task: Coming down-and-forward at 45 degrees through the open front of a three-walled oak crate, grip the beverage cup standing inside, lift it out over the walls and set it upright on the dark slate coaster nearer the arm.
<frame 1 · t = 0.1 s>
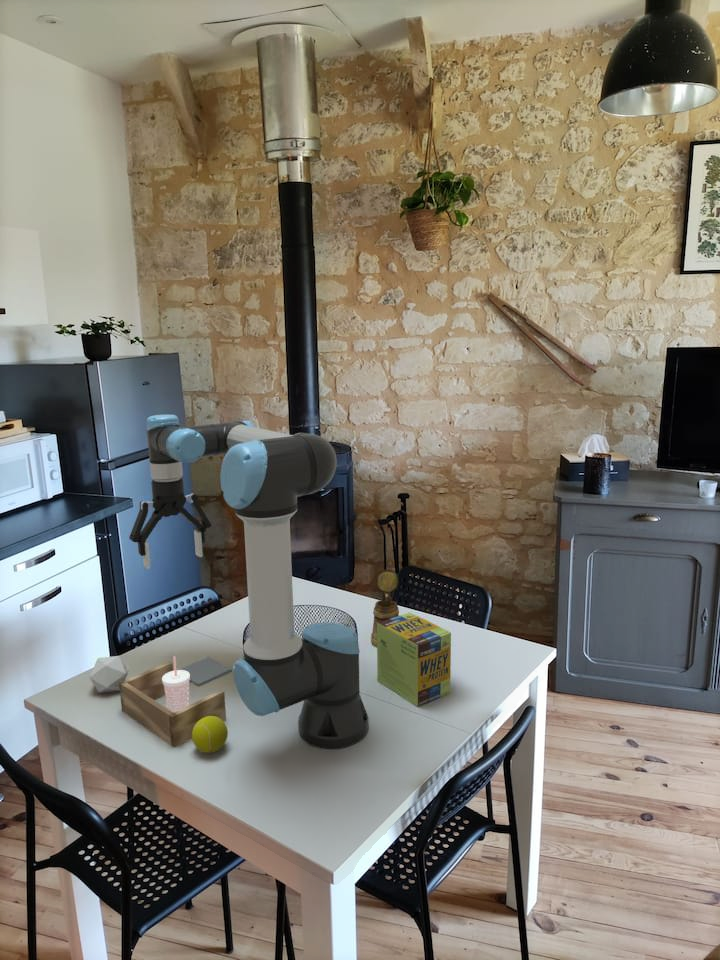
hand: (173, 561, 173), 28 cm above the table, tool pointing down, fingers open, 13 cm apart
tennis ball: (211, 750, 143), on the table
die: (111, 689, 168), on the table
crate: (173, 715, 156), on the table
gold trophy: (387, 638, 192), on the table
protein box: (413, 687, 166), on the table
coaster: (203, 672, 175), on the table
beverage cup: (179, 713, 157), on the table
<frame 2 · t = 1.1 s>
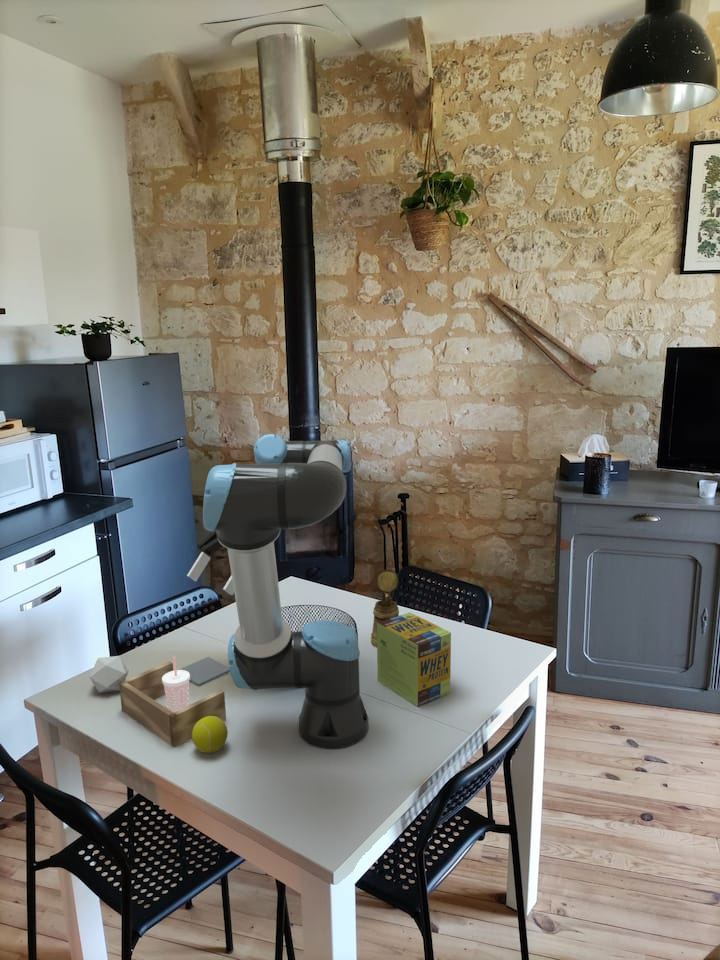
hand: (208, 585, 158), 27 cm above the table, tool tilted 45°, fingers open, 13 cm apart
nothing on the table moved.
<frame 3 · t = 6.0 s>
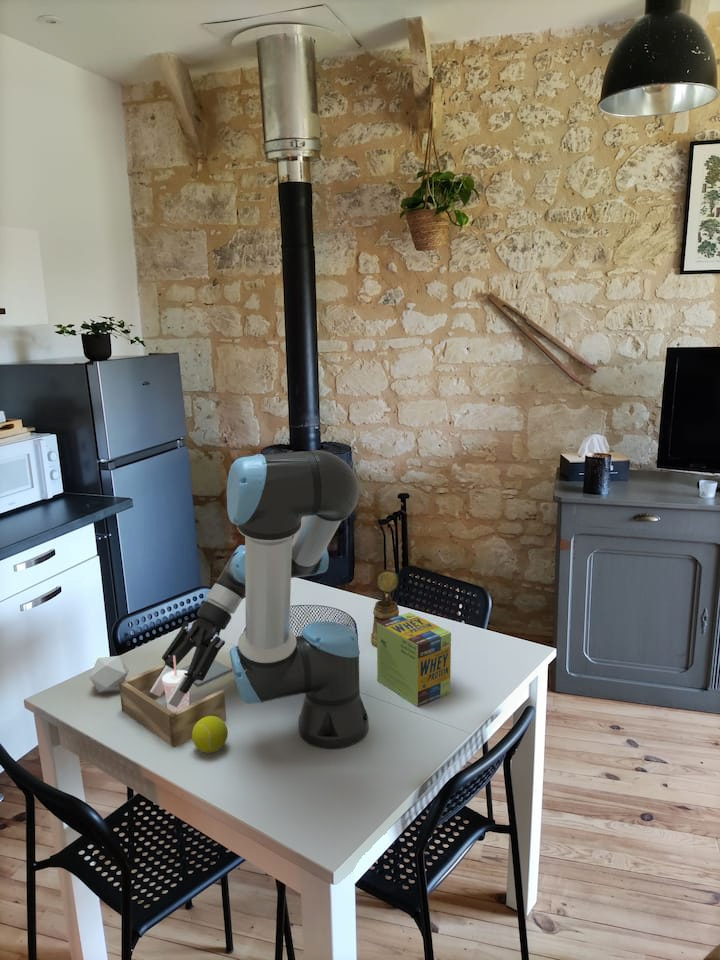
hand: (163, 699, 153), 5 cm above the table, tool tilted 45°, fingers closed on beverage cup, 6 cm apart
beverage cup: (179, 713, 157), on the table, touching gripper
everything else where it was.
when the fingers open (7 cm above the table, at t = 11.2 s): beverage cup drops 1 cm, resting on coaster.
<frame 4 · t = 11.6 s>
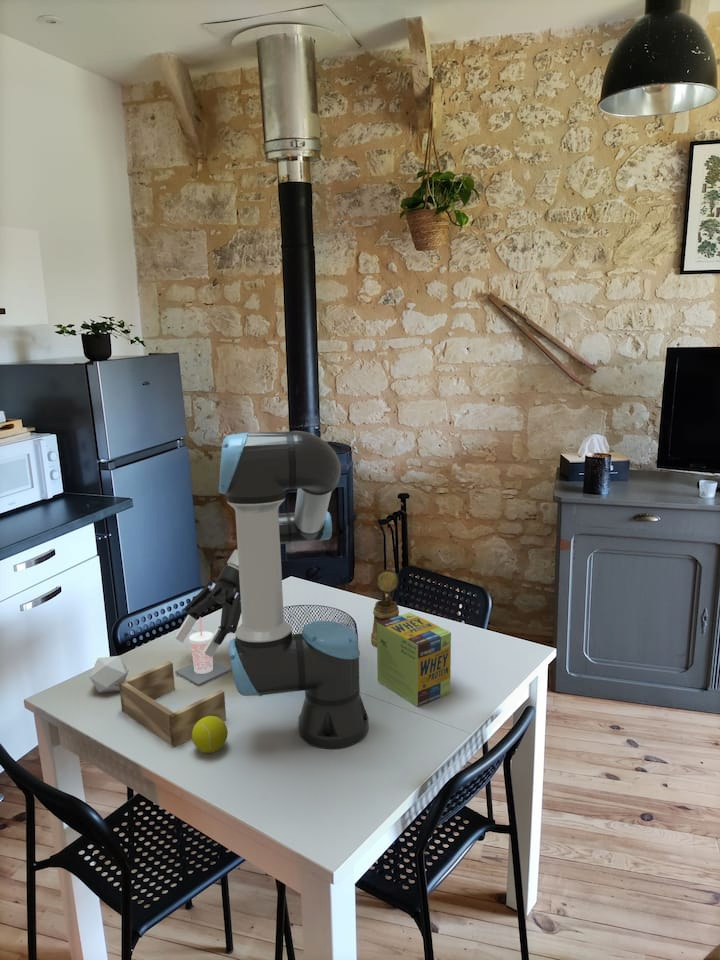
hand: (192, 647, 171), 8 cm above the table, tool tilted 45°, fingers open, 11 cm apart
beverage cup: (203, 670, 175), resting on coaster
everything else where it was.
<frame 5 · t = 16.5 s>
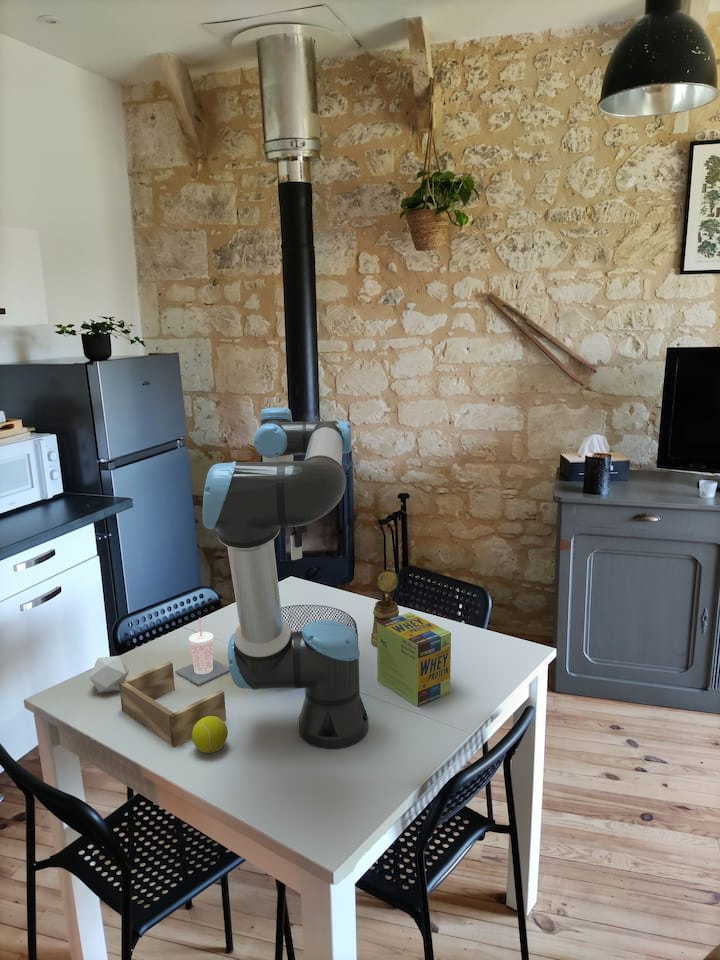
hand: (282, 552, 176), 29 cm above the table, tool pointing down, fingers open, 13 cm apart
nothing on the table moved.
at the end: beverage cup inside the target area on the coaster (0.0 cm from its centre), point 0.4 cm above the coaster's base; beverage cup tilted 0°; the gripper is holding nothing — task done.
